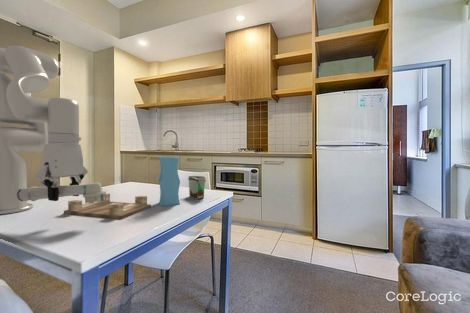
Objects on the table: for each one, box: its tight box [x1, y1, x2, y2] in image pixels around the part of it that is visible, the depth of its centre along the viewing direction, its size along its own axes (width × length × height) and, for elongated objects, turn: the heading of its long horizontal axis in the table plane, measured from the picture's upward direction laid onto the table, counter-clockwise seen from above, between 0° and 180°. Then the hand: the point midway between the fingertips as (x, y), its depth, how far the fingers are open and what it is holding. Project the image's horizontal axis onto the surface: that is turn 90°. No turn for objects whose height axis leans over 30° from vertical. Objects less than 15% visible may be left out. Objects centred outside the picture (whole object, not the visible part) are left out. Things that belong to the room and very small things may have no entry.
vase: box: [158, 156, 181, 207], centre depth 96 cm, size 8×8×20 cm
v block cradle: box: [63, 192, 152, 220], centre depth 85 cm, size 25×16×4 cm, turn 76°
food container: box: [188, 175, 207, 201], centre depth 108 cm, size 12×6×10 cm, turn 34°
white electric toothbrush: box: [17, 182, 107, 204], centre depth 69 cm, size 5×7×25 cm
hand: (64, 197), depth 69 cm, fingers closed on white electric toothbrush, 5 cm apart
